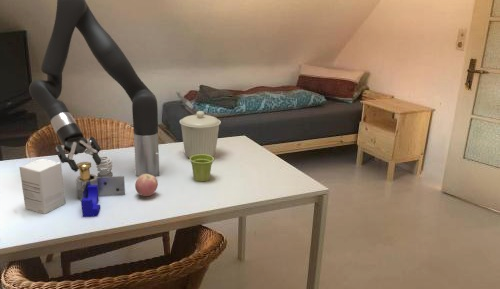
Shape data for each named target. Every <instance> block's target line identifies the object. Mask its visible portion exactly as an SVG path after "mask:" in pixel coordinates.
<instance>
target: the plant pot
mask: <svg viewBox="0 0 500 289" xmlns="http://www.w3.org/2000/svg"><path fill="white" fill-rule="evenodd" d="M214 160H215V159H214V156H213V157H212V156H210V155H204V154H199V155H194V156H191V157H190V158H189V161H190V164H191V168H192V175H193V180H194V181H196V182H199V183H201V182H208V181H209V180H210V176H211V170H212V164H213V162H214Z"/></svg>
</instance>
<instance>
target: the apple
mask: <svg viewBox="0 0 500 289" xmlns="http://www.w3.org/2000/svg"><path fill="white" fill-rule="evenodd" d="M158 186H159V182H158V179H157V176H153V175H150V174H142V175H140V176H137V178H136V180H135V183H134V188H135V190H136V192H137V194H139V195H141V196H144V197H150V196H152V195H153V194H154V193H155V192H156V191H157V189H158Z"/></svg>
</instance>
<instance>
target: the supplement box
mask: <svg viewBox="0 0 500 289" xmlns="http://www.w3.org/2000/svg"><path fill="white" fill-rule="evenodd" d="M19 174H20V181H21V187H22V188H21V190H22V194H23V202H24V209H25V210H29V211H33V212H37V213H40V214H44V215H46V214H48V213H50V212H51V211H53V210H55V209H57V208H59V207H61V206H63V205H65V204H66V195H65V186H64V178H63V170H62V163H61V161H60V162H59V161H54V160H49V159H46V158H39V159H37V160H34V161H31V162H28V163H26V164H23V165H20V166H19Z"/></svg>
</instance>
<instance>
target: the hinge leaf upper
mask: <svg viewBox="0 0 500 289" xmlns="http://www.w3.org/2000/svg"><path fill="white" fill-rule="evenodd" d="M75 182H76V191H77V190H80V191H81V190H82V187H83V184H84V182H85V181H82V180H80V175H79V176H77V177H76V179H75ZM86 182H87V189H88V185H98V195H99V197H107V196H108V197H110V196H125V195H126V185H125V176H124V175H115V176H110V177H98V176H97V174H94V173H90V180H89V181H86Z"/></svg>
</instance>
